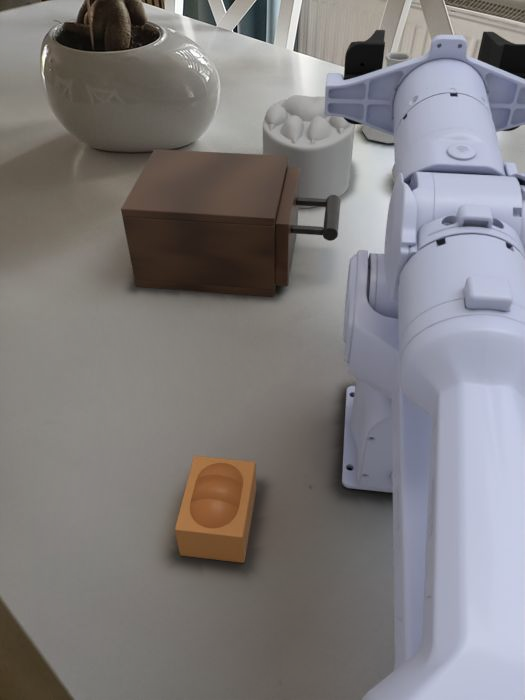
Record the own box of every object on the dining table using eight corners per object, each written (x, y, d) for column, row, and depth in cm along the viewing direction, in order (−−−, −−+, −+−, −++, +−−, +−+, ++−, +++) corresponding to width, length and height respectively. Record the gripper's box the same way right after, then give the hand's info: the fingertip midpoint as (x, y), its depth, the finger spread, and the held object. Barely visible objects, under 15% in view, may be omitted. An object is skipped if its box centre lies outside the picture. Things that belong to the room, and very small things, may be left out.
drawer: (338, 229, 66) (343, 169, 61) (333, 289, 58) (338, 227, 54) (182, 219, 67) (176, 160, 63) (158, 277, 60) (149, 215, 55)
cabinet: (286, 230, 67) (288, 155, 61) (274, 296, 59) (274, 218, 53) (164, 222, 69) (154, 148, 63) (135, 286, 60) (120, 208, 54)
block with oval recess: (244, 563, 40) (242, 530, 37) (179, 555, 40) (173, 522, 37) (256, 488, 44) (255, 454, 41) (197, 482, 44) (192, 448, 41)
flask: (416, 146, 81) (429, 67, 74) (360, 143, 82) (368, 64, 75) (415, 123, 86) (427, 47, 79) (362, 120, 87) (370, 44, 80)
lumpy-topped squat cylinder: (352, 157, 79) (358, 88, 73) (346, 211, 70) (353, 137, 64) (271, 152, 80) (271, 84, 74) (255, 204, 71) (253, 131, 65)
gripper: (597, 74, 33) (550, -15, 42) (323, 68, 35) (335, -17, 44) (555, 189, 38) (522, 88, 47) (318, 179, 40) (330, 83, 49)
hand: (431, 44), depth 46 cm, fingers open, 7 cm apart
